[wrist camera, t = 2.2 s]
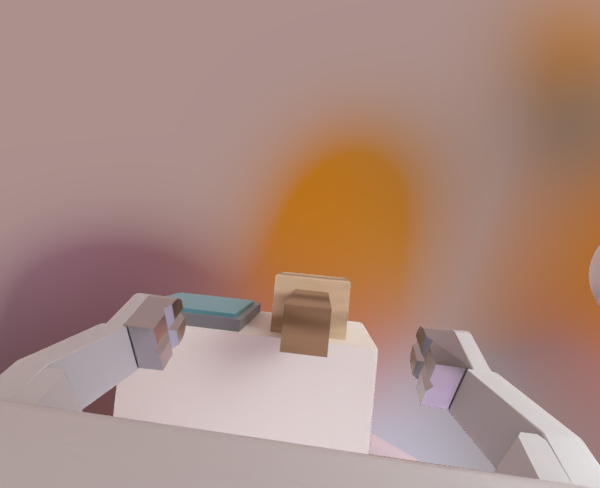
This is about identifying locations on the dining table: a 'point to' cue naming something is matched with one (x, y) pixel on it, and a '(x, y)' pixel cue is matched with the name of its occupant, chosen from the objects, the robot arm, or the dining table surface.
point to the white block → (260, 387)
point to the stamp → (309, 312)
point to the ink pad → (217, 311)
